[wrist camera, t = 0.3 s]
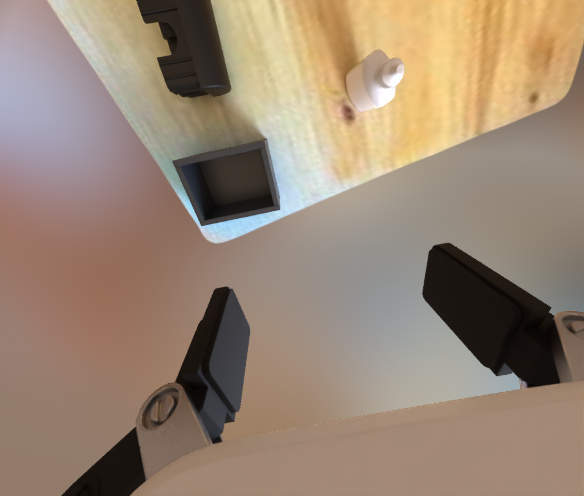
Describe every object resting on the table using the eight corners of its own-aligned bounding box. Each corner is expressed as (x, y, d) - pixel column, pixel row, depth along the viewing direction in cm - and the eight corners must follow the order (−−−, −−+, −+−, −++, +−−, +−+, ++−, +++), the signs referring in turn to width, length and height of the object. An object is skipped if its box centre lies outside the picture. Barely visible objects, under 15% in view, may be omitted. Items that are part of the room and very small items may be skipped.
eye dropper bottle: (343, 113, 32) (375, 104, 22) (345, 66, 30) (383, 31, 19) (370, 111, 33) (415, 101, 22) (375, 65, 30) (429, 28, 19)
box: (192, 155, 34) (171, 161, 27) (266, 139, 33) (264, 140, 27) (214, 210, 39) (201, 226, 32) (279, 196, 38) (280, 209, 32)
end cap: (236, 94, 30) (226, 84, 24) (188, 102, 30) (167, 95, 25) (213, -6, 25) (194, -47, 20) (157, 5, 26) (121, -34, 20)
